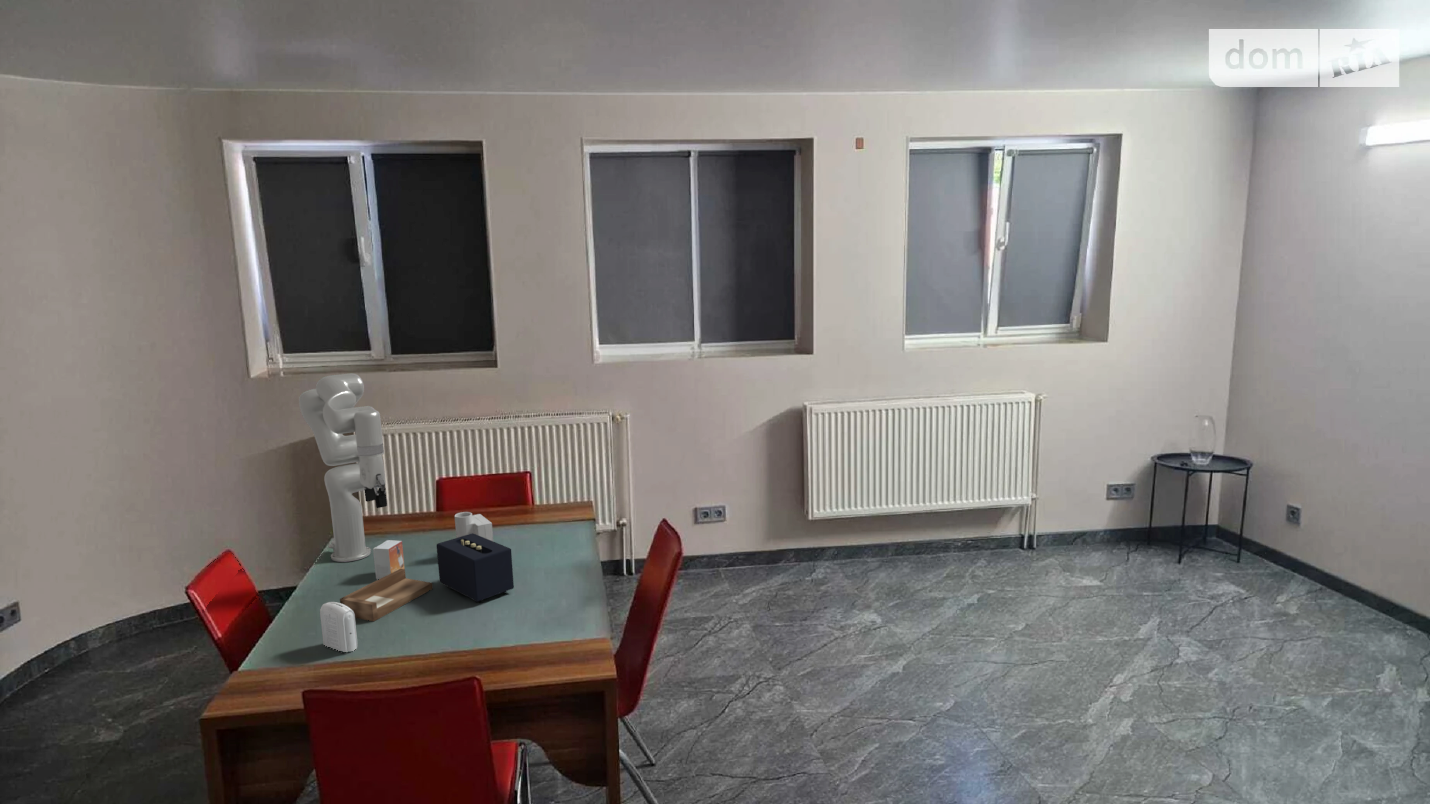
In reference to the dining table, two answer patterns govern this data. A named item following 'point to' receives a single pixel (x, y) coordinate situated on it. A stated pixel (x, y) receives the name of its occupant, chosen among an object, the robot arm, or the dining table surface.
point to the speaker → (475, 566)
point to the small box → (388, 558)
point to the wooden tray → (384, 595)
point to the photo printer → (338, 627)
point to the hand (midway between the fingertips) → (376, 503)
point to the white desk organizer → (473, 525)
